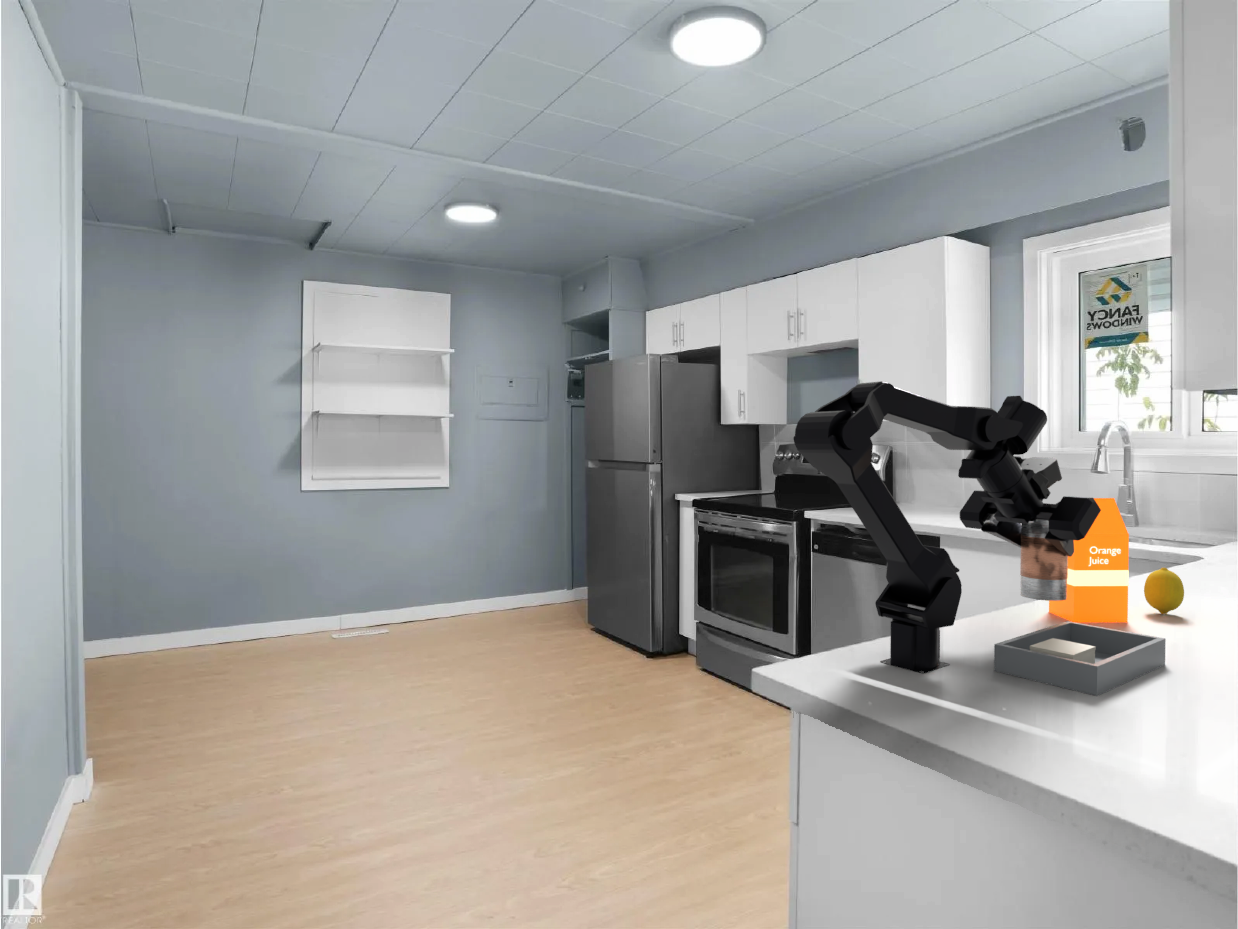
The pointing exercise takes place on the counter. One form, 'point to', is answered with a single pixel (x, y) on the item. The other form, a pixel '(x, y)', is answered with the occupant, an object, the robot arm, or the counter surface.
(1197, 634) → the counter surface
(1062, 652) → the cream smooth square block
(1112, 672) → the grey rectangular tray
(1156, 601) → the lemon
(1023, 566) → the steel tin
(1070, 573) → the orange juice
